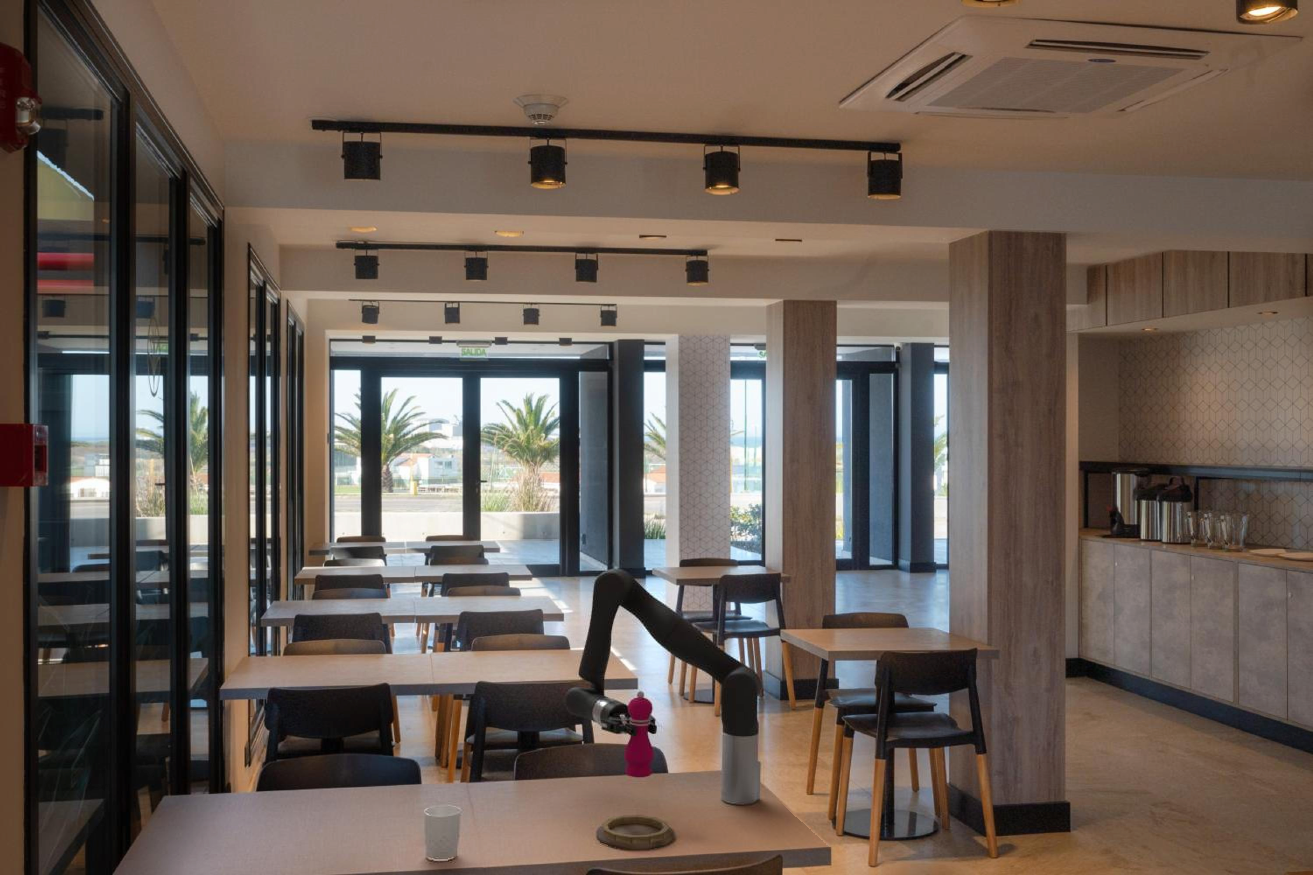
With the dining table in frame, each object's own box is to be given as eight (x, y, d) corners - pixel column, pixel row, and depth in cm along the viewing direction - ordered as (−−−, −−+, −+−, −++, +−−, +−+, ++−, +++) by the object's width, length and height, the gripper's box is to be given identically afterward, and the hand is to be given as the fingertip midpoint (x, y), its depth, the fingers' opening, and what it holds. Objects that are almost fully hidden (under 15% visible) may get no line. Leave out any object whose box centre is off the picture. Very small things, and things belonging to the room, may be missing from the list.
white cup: (425, 850, 258) (426, 804, 258) (461, 850, 259) (462, 804, 259) (421, 863, 251) (422, 816, 251) (458, 862, 251) (459, 816, 251)
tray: (640, 818, 283) (641, 808, 283) (690, 839, 269) (690, 828, 269) (580, 833, 272) (580, 822, 272) (629, 855, 258) (629, 844, 258)
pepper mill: (649, 779, 279) (651, 695, 279) (620, 776, 281) (622, 693, 281) (656, 770, 286) (658, 689, 286) (627, 768, 288) (629, 686, 288)
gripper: (587, 702, 293) (619, 718, 278) (638, 697, 300) (671, 712, 285) (586, 732, 293) (618, 749, 278) (637, 727, 300) (670, 743, 285)
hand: (645, 730), depth 281 cm, fingers closed on pepper mill, 4 cm apart
